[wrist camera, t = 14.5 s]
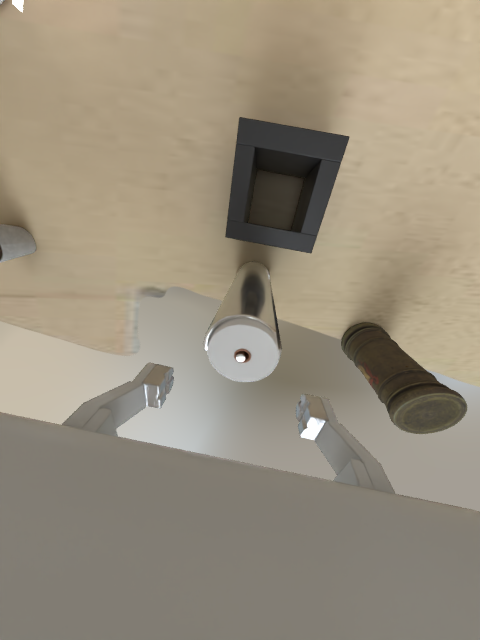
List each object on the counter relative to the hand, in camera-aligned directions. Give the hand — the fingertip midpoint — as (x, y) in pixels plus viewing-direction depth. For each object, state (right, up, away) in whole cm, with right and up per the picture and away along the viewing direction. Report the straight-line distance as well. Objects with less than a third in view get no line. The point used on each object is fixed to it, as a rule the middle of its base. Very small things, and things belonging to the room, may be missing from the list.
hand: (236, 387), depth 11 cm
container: (+27, 0, +29) cm, 39 cm away
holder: (+6, +24, +19) cm, 31 cm away
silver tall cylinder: (+3, +13, +25) cm, 28 cm away
